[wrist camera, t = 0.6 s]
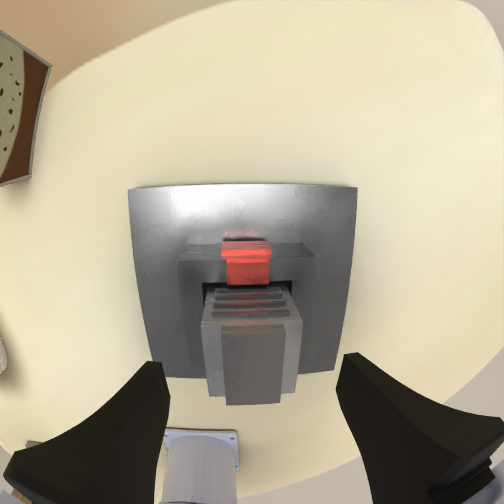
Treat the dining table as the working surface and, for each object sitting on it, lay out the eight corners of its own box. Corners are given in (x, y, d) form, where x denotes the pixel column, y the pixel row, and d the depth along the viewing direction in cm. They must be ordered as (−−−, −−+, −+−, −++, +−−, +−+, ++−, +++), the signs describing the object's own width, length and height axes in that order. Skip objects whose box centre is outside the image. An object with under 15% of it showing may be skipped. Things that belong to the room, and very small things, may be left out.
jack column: (276, 324, 18) (297, 401, 11) (214, 325, 18) (207, 406, 11) (278, 264, 17) (308, 327, 10) (211, 266, 16) (197, 331, 10)
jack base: (328, 359, 21) (348, 400, 16) (160, 364, 20) (147, 408, 15) (348, 186, 17) (387, 192, 12) (136, 188, 16) (101, 195, 11)
